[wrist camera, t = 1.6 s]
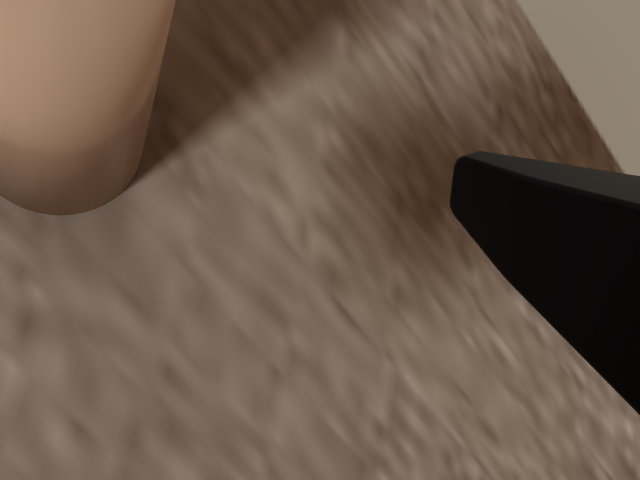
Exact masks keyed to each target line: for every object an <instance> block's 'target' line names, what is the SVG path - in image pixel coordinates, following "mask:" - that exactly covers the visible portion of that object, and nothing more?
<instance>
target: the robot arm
mask: <svg viewBox="0 0 640 480" xmlns="http://www.w3.org/2000/svg"><path fill="white" fill-rule="evenodd" d="M450 207H451V210H452V212H453V214H454V216H455V217H456V218H457V220H458V221H459V222H460V223H461V224H462V226H463V227H464V228H465V229H466V231H467V232H468V233H469V234H470V236H471V237H472V238H473V239H474V241H475V242H476V243H477V244H478V245H479V247H480V248H481V249H482V250H483V252H484V253H485V254H486V255H487V257H488V258H489V259H490V260H491V262H492V263H493V264H494V265H495V267H496V268H497V269H498V270H499V271H500V272H501V274H502V275H503V276H504V277H505V278H506V279H507V280H508V282H509V283H510V284H511V285H512V286H513V287H514V288H515V289H516V290H517V291H518V292H519V293H520V294H521V295H522V296H523V297H524V298H525V299H526V300H527V301H528V302H529V303H530V304H531V305H532V306H533V307H534V308H535V309H536V310H537V311H538V312H539V313H540V314H541V315H542V316H543V317H544V318H545V319H546V320H547V321H548V322H549V323H550V324H551V326H552V327H553V328H554V329H555V330H556V331H557V332H558V333H559V334H560V335H561V336H562V337H563V338H564V339H565V340H566V341H567V342H568V343H569V344H570V345H571V346H572V347H573V348H574V349H575V350H576V351H577V352H578V353H579V354H580V355H581V356H582V357H583V358H584V359H585V360H586V361H587V362H588V363H589V364H590V365H591V366H592V367H593V368H594V369H595V370H596V371H597V372H598V373H599V374H600V375H601V376H602V377H603V378H604V379H605V380H606V381H607V382H608V383H609V384H610V385H611V386H612V387H613V388H614V389H615V390H616V391H617V392H618V393H619V394H620V396H621V397H622V398H623V399H624V400H625V401H626V402H627V403H628V404H629V405H630V406H631V407H632V408H633V409H634V410H635V411H636V412H637V413H638V414H639V415H640V176H634V175H628V174H622V173H616V172H609V171H603V170H597V169H590V168H584V167H578V166H571V165H565V164H559V163H552V162H546V161H540V160H533V159H527V158H521V157H514V156H508V155H502V154H495V153H489V152H482V151H479V152H474V153H471V154H468V155H465V156H462V157H460V158H459V159H458V160H457V161H456V163H455V165H454V171H453V179H452V186H451V194H450Z"/></svg>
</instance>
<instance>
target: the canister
mask: <svg viewBox="0 0 640 480" xmlns="http://www.w3.org/2000/svg"><path fill="white" fill-rule="evenodd" d="M175 2H176V0H0V195H1V196H3V197H4V198H5V199H7V200H9V201H10V202H12V203H14V204H16V205H18V206H20V207H23V208H25V209H28V210H31V211H34V212H38V213H44V214H50V215H71V214H78V213H83V212H87V211H90V210H93V209H96V208H98V207H100V206H102V205H104V204H106V203H108V202H109V201H111V200H113V199H114V198H115V197H116V196H118V195H119V194H120V193H121V192H122V191H123V190H124V189H125V188H126V187H127V186H128V185H129V183H130V182H131V180H132V179H133V177H134V176H135V174H136V172H137V170H138V167H139V164H140V161H141V157H142V153H143V148H144V144H145V139H146V134H147V130H148V125H149V121H150V116H151V112H152V107H153V102H154V98H155V93H156V89H157V84H158V80H159V75H160V70H161V66H162V61H163V57H164V52H165V48H166V43H167V38H168V34H169V29H170V25H171V20H172V15H173V11H174V6H175Z"/></svg>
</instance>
